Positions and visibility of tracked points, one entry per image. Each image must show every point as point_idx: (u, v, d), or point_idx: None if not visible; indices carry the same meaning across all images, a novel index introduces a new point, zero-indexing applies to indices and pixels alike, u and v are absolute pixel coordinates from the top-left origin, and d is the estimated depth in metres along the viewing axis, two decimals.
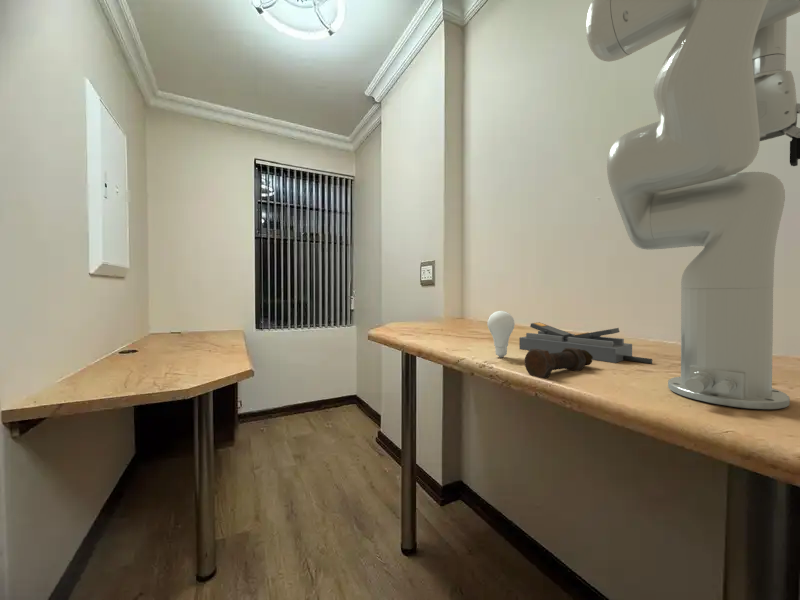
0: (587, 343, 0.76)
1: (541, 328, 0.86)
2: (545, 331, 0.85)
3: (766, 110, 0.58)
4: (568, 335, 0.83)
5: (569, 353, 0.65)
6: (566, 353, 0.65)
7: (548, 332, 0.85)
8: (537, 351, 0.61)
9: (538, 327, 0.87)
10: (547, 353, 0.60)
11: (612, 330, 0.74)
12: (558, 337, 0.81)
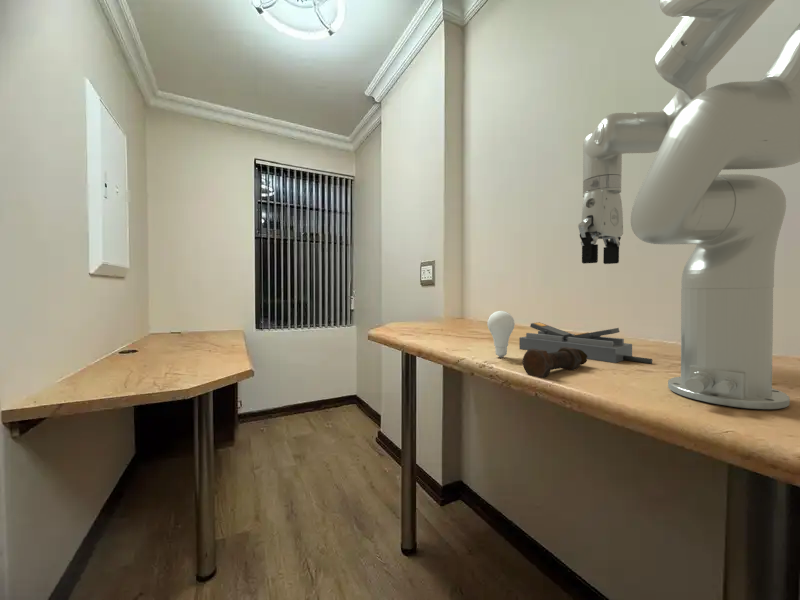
0: (587, 343, 0.76)
1: (541, 328, 0.86)
2: (545, 331, 0.85)
3: (618, 219, 0.75)
4: (568, 335, 0.83)
5: (565, 353, 0.65)
6: (562, 353, 0.65)
7: (548, 332, 0.85)
8: (535, 351, 0.61)
9: (538, 327, 0.87)
10: (545, 353, 0.61)
11: (612, 330, 0.74)
12: (558, 337, 0.81)
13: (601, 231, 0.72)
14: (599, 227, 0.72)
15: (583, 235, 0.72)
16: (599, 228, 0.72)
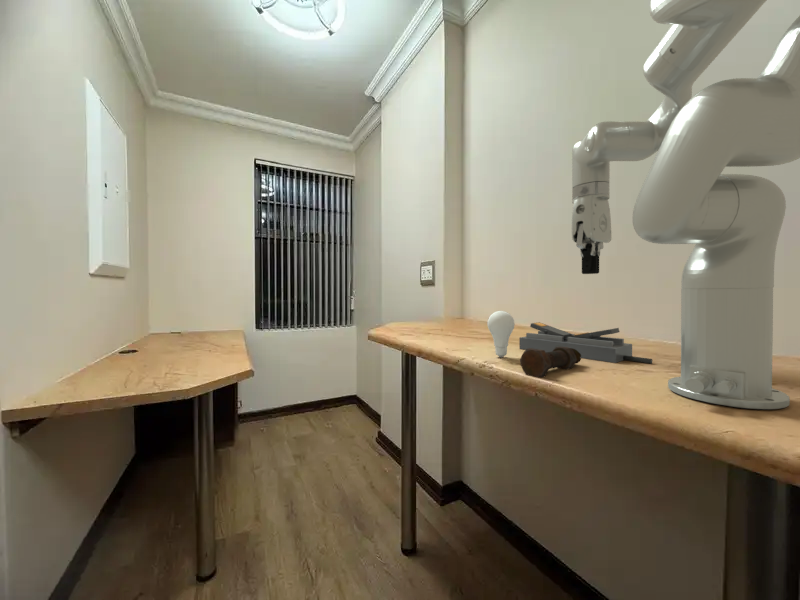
0: (587, 343, 0.76)
1: (541, 328, 0.86)
2: (545, 331, 0.85)
3: (606, 225, 0.77)
4: (568, 335, 0.83)
5: (561, 352, 0.66)
6: (558, 352, 0.66)
7: (548, 332, 0.85)
8: (534, 351, 0.61)
9: (538, 327, 0.87)
10: (543, 352, 0.61)
11: (612, 330, 0.74)
12: (558, 337, 0.81)
13: (591, 237, 0.73)
14: (589, 233, 0.73)
15: None
16: (589, 234, 0.73)
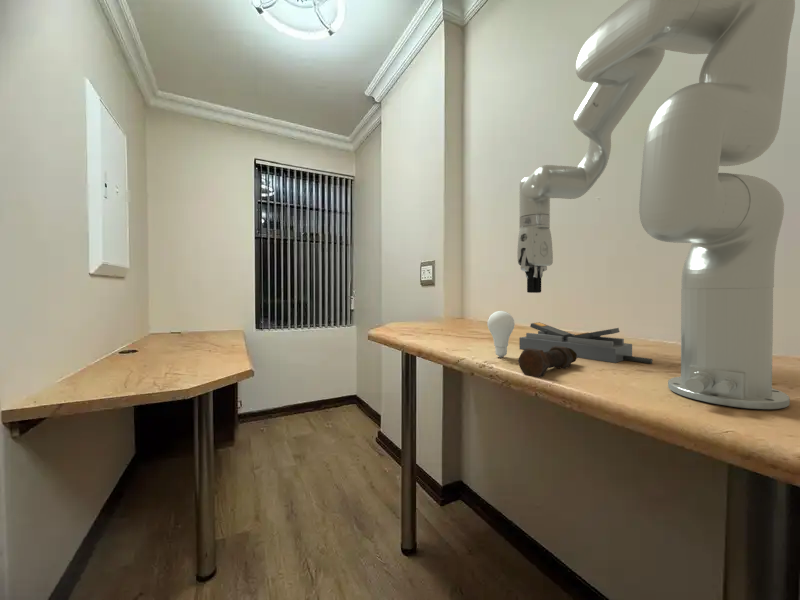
0: (587, 343, 0.76)
1: (541, 328, 0.86)
2: (545, 331, 0.85)
3: (547, 251, 0.88)
4: (568, 335, 0.83)
5: (558, 351, 0.67)
6: (555, 352, 0.66)
7: (548, 332, 0.85)
8: (532, 351, 0.62)
9: (538, 327, 0.87)
10: (542, 352, 0.61)
11: (612, 330, 0.74)
12: (558, 337, 0.81)
13: (532, 262, 0.85)
14: (530, 258, 0.85)
15: None
16: (530, 259, 0.85)
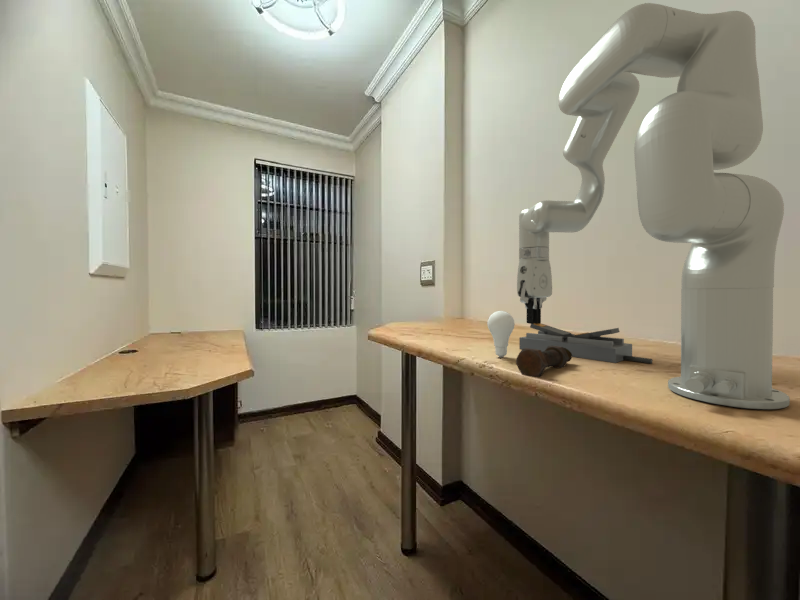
0: (587, 343, 0.76)
1: (541, 328, 0.86)
2: (545, 331, 0.85)
3: (547, 282, 0.89)
4: (568, 334, 0.83)
5: (554, 351, 0.67)
6: (552, 351, 0.67)
7: (548, 332, 0.85)
8: (531, 350, 0.62)
9: (538, 327, 0.87)
10: (540, 352, 0.61)
11: (612, 330, 0.74)
12: (558, 337, 0.81)
13: (531, 295, 0.85)
14: (530, 291, 0.85)
15: None
16: (530, 292, 0.85)
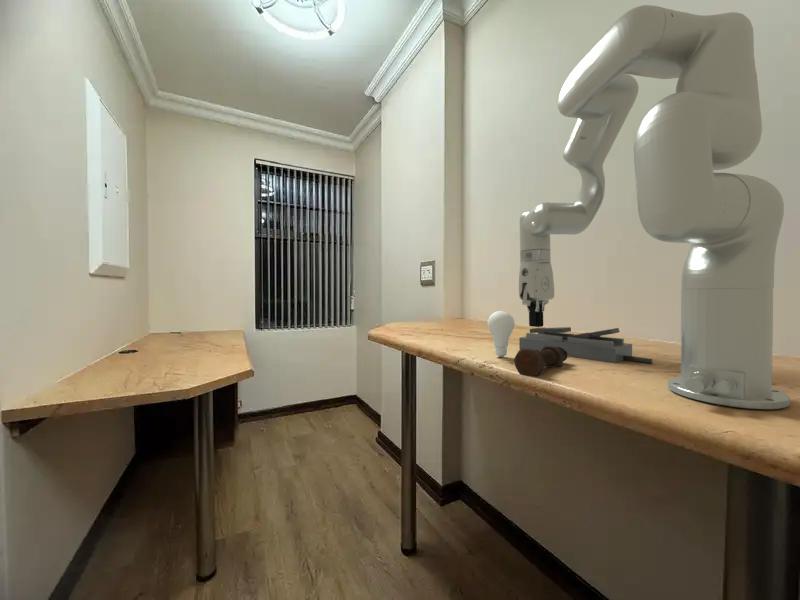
0: (587, 343, 0.76)
1: (540, 330, 0.87)
2: (545, 331, 0.86)
3: (549, 285, 0.88)
4: (568, 329, 0.83)
5: (551, 351, 0.68)
6: (548, 351, 0.67)
7: (548, 331, 0.85)
8: (529, 350, 0.62)
9: (537, 330, 0.87)
10: (538, 352, 0.62)
11: (612, 330, 0.74)
12: (558, 337, 0.81)
13: (533, 297, 0.85)
14: (532, 294, 0.85)
15: None
16: (532, 294, 0.85)
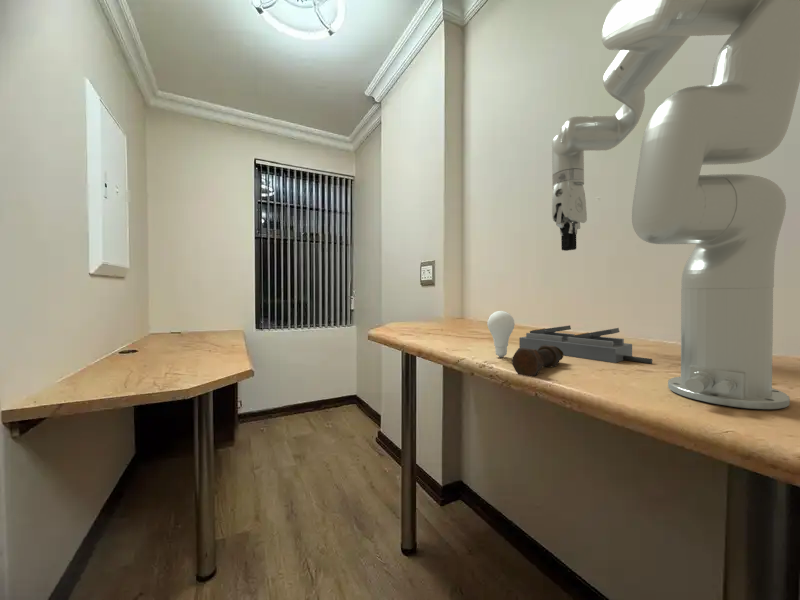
0: (587, 343, 0.76)
1: (540, 330, 0.87)
2: (545, 331, 0.86)
3: (582, 207, 0.88)
4: (567, 327, 0.84)
5: (547, 350, 0.68)
6: (545, 351, 0.68)
7: (548, 331, 0.85)
8: (527, 350, 0.62)
9: (537, 331, 0.87)
10: (536, 351, 0.62)
11: (612, 330, 0.74)
12: (558, 337, 0.81)
13: (568, 216, 0.84)
14: (566, 212, 0.84)
15: None
16: (566, 213, 0.84)
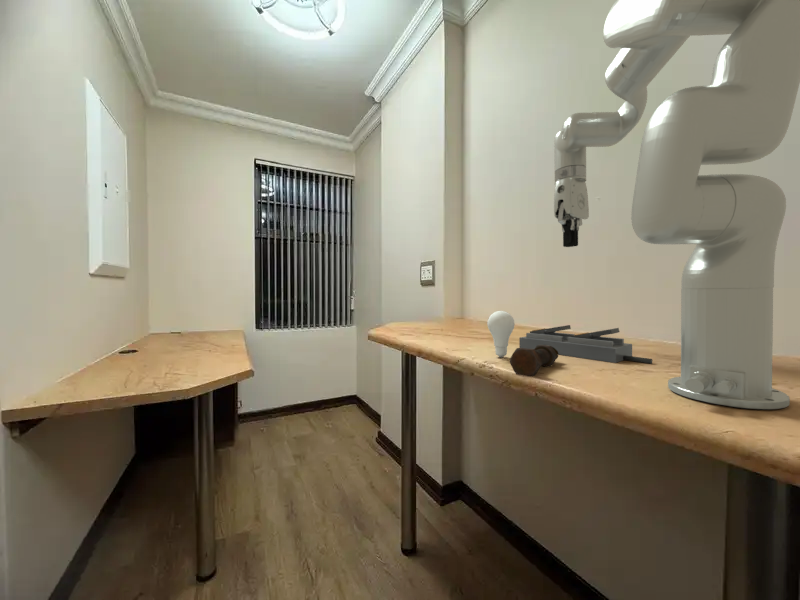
0: (587, 343, 0.76)
1: (540, 330, 0.87)
2: (545, 331, 0.86)
3: (584, 203, 0.88)
4: (567, 326, 0.84)
5: (544, 350, 0.68)
6: (542, 350, 0.68)
7: (548, 331, 0.85)
8: (525, 350, 0.62)
9: (537, 331, 0.87)
10: (534, 351, 0.62)
11: (612, 330, 0.74)
12: (558, 337, 0.81)
13: (570, 212, 0.84)
14: (568, 209, 0.85)
15: None
16: (568, 210, 0.85)
